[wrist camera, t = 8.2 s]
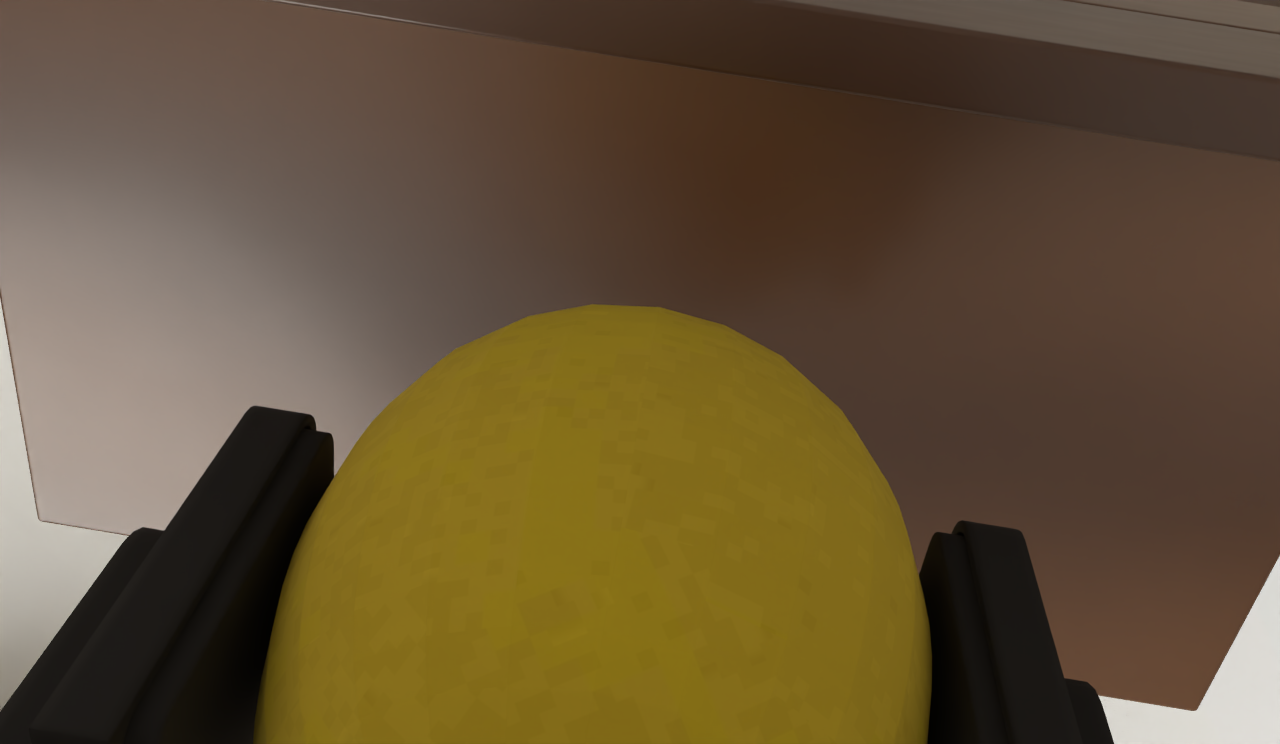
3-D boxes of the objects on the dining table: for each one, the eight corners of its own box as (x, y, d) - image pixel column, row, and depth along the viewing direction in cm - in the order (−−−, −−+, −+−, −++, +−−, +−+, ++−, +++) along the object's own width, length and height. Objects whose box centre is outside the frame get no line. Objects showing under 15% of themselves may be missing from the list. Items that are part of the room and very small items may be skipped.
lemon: (978, 462, 14) (1175, 1248, 7) (599, 643, 16) (468, 1389, 9) (709, 73, 12) (620, 653, 5) (314, 338, 14) (-128, 1005, 7)
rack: (271, -253, 23) (-211, -156, 12) (1219, -105, 22) (1655, 138, 11) (293, 555, 33) (52, 1013, 22) (940, 661, 33) (1024, 1178, 22)
